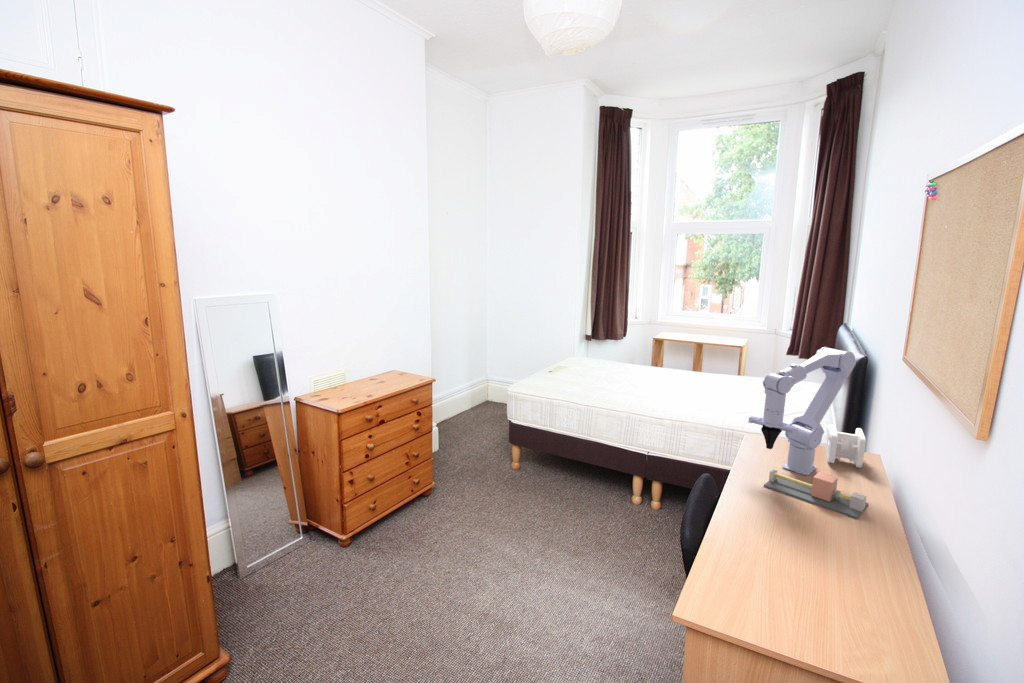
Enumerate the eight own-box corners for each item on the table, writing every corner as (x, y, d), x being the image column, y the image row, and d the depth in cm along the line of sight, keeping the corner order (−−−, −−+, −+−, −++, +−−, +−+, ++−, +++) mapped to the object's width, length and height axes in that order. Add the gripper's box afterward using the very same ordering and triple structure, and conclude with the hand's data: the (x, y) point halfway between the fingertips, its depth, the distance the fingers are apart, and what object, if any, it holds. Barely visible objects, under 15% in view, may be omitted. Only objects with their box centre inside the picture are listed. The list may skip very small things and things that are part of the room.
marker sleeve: (816, 489, 146) (819, 471, 145) (835, 495, 142) (838, 477, 141) (810, 495, 142) (813, 476, 141) (829, 501, 139) (832, 482, 138)
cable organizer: (862, 472, 161) (867, 440, 158) (825, 465, 166) (830, 434, 164) (857, 456, 173) (861, 427, 171) (823, 450, 179) (827, 421, 176)
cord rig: (777, 475, 158) (778, 463, 157) (867, 504, 139) (870, 491, 138) (763, 486, 150) (764, 473, 149) (857, 519, 131) (859, 504, 130)
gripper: (746, 406, 157) (742, 444, 159) (794, 417, 146) (789, 458, 149) (754, 402, 161) (750, 439, 164) (801, 413, 151) (796, 452, 153)
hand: (769, 448), depth 157 cm, fingers closed
